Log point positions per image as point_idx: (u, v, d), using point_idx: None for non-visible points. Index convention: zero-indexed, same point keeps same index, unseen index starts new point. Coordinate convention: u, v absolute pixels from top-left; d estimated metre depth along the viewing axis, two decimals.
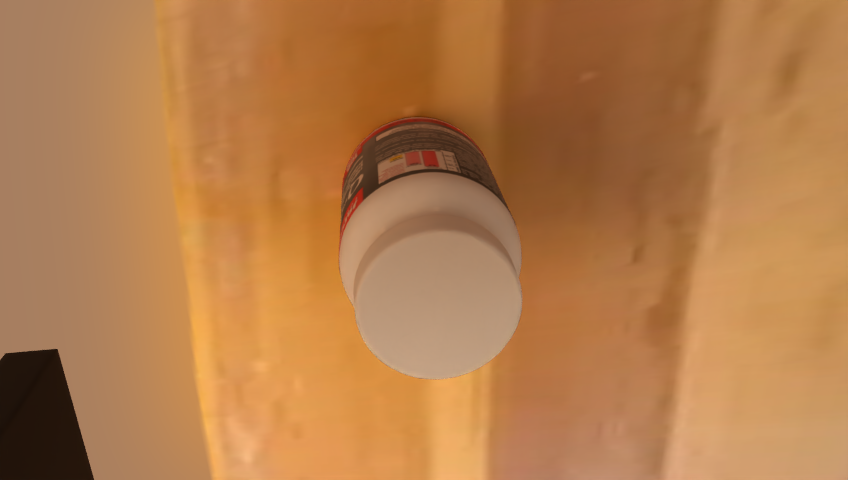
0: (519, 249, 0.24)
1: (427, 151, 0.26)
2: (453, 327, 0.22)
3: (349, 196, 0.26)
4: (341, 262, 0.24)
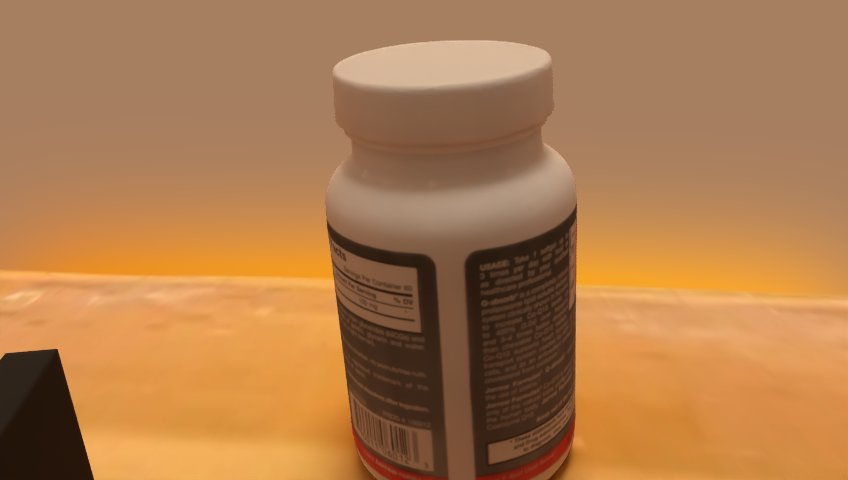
0: (455, 221, 0.16)
1: (575, 279, 0.19)
2: (410, 65, 0.17)
3: None
4: None
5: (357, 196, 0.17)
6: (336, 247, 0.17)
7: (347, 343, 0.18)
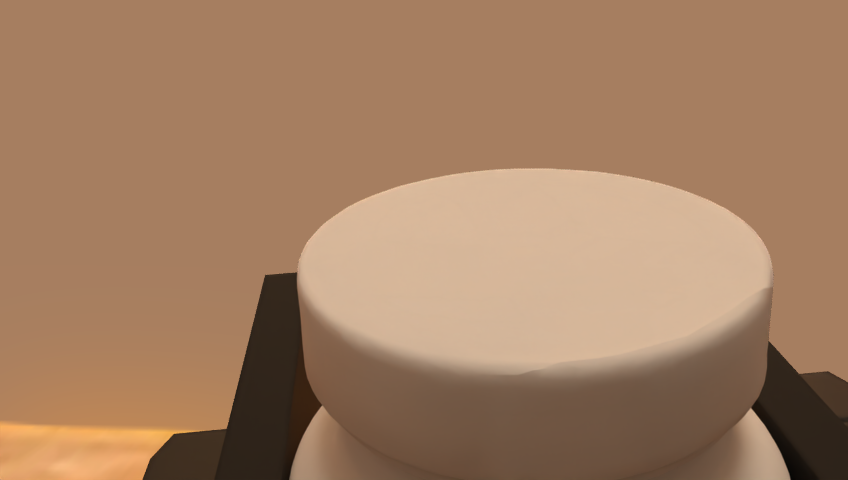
0: None
1: None
2: (462, 257, 0.08)
3: None
4: None
5: None
6: None
7: None
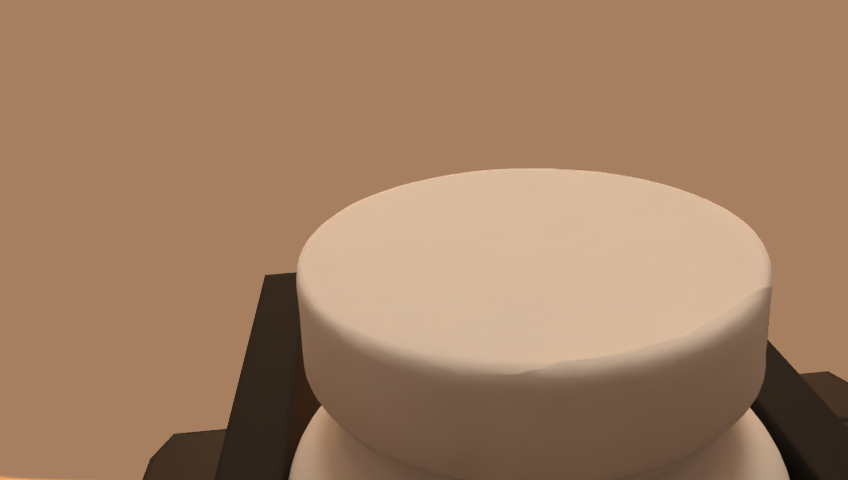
0: None
1: None
2: (461, 256, 0.08)
3: None
4: None
5: None
6: None
7: None
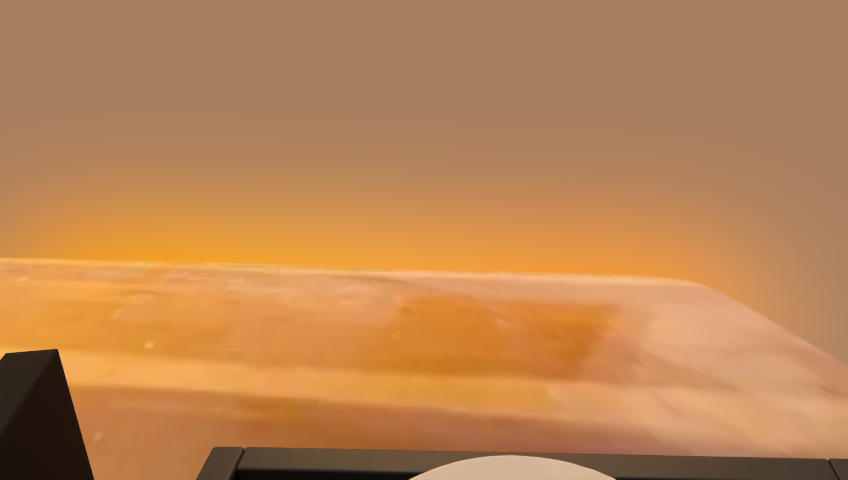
0: None
1: None
2: None
3: None
4: None
5: None
6: None
7: None
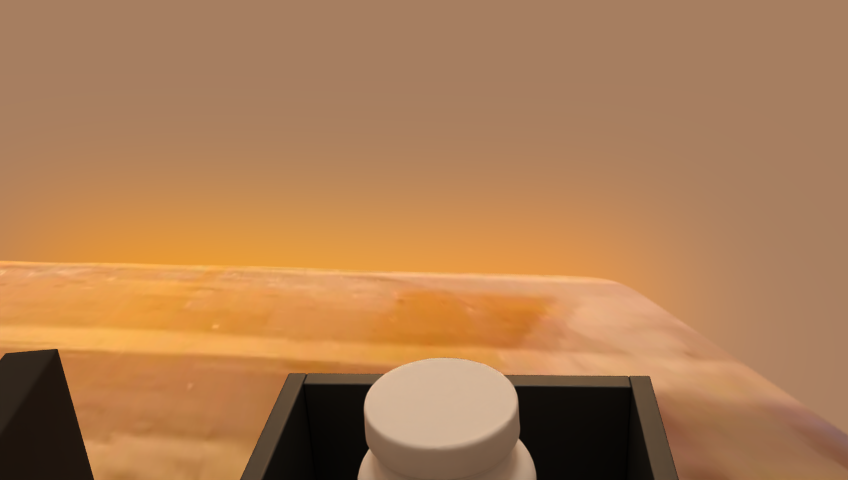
0: None
1: None
2: (418, 405, 0.24)
3: None
4: None
5: None
6: None
7: None
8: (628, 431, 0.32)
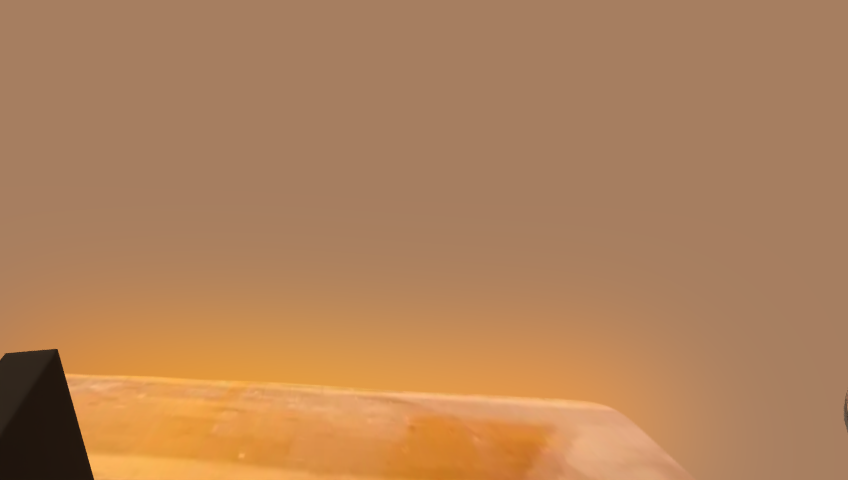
0: None
1: None
2: None
3: None
4: None
5: None
6: None
7: None
8: None
